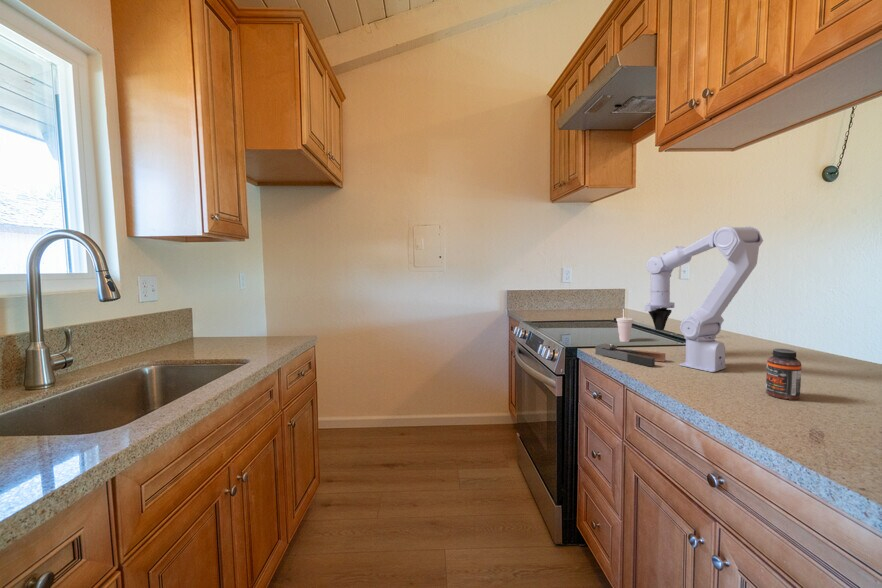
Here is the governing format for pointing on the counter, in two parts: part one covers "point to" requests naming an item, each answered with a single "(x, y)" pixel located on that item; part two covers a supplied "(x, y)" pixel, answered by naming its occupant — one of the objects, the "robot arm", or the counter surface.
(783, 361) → the supplement bottle
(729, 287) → the robot arm
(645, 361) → the frame
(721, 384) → the counter surface
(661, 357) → the tong arm
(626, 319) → the smoothie
